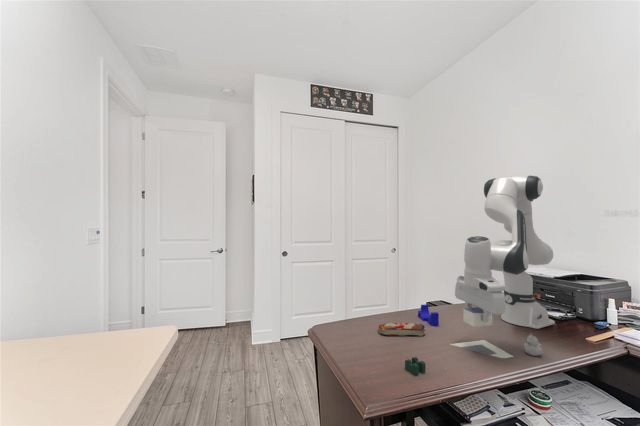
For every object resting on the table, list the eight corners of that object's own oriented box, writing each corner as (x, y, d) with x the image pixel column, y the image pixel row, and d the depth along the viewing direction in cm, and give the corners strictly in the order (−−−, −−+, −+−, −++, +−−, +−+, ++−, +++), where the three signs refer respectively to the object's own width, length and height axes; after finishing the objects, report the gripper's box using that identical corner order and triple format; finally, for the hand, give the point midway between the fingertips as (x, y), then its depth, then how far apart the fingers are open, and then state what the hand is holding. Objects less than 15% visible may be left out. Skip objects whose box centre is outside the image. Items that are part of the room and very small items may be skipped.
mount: (421, 368, 90) (421, 353, 90) (432, 375, 86) (432, 359, 86) (397, 378, 85) (397, 362, 85) (408, 386, 81) (408, 369, 81)
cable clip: (418, 316, 135) (417, 304, 135) (426, 316, 135) (426, 304, 135) (429, 326, 123) (429, 313, 123) (438, 326, 123) (438, 313, 123)
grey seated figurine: (519, 352, 100) (519, 330, 100) (531, 349, 102) (531, 328, 102) (535, 359, 95) (535, 337, 95) (547, 356, 97) (547, 334, 97)
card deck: (463, 321, 102) (463, 308, 102) (481, 319, 103) (481, 306, 103) (473, 326, 97) (473, 312, 97) (492, 324, 99) (492, 311, 99)
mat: (483, 341, 109) (483, 339, 109) (513, 358, 96) (513, 356, 96) (444, 346, 105) (444, 344, 105) (470, 364, 92) (470, 362, 92)
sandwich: (378, 327, 122) (378, 316, 122) (424, 331, 118) (424, 320, 118) (378, 338, 112) (378, 326, 112) (428, 343, 107) (428, 331, 107)
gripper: (450, 274, 110) (450, 309, 110) (493, 288, 90) (493, 330, 90) (464, 274, 111) (464, 307, 111) (509, 287, 91) (509, 328, 91)
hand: (477, 318), depth 100 cm, fingers closed on card deck, 5 cm apart
